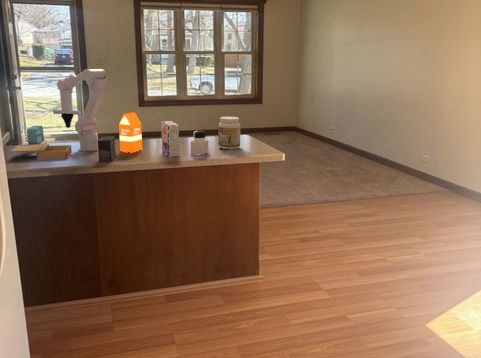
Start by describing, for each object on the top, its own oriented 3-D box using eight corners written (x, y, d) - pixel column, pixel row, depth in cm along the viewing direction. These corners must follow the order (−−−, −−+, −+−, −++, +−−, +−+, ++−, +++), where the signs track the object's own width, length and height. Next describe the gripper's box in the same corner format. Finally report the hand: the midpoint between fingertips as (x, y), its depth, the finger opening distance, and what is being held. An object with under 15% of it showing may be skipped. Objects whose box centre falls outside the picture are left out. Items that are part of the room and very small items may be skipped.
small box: (102, 156, 226) (101, 136, 223) (116, 156, 226) (114, 136, 223) (98, 161, 215) (96, 140, 213) (112, 161, 216) (110, 140, 213)
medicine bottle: (208, 152, 238) (208, 130, 235) (203, 155, 231) (202, 132, 228) (196, 151, 240) (195, 129, 237) (190, 154, 234) (190, 131, 230)
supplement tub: (214, 149, 247) (214, 118, 243) (223, 145, 258) (223, 115, 254) (235, 151, 243) (235, 119, 238) (243, 147, 254) (244, 117, 249)
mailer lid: (49, 145, 230) (48, 139, 229) (43, 151, 216) (42, 145, 216) (18, 146, 227) (17, 140, 226) (10, 152, 213) (9, 146, 213)
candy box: (161, 152, 238) (160, 121, 233) (172, 151, 240) (171, 120, 235) (168, 157, 226) (167, 125, 221) (179, 157, 228) (179, 124, 223)
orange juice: (142, 150, 242) (140, 112, 237) (132, 153, 235) (130, 114, 229) (130, 148, 245) (128, 111, 240) (120, 151, 238) (117, 113, 232)
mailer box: (71, 152, 233) (71, 145, 232) (67, 158, 220) (66, 150, 219) (42, 153, 230) (42, 145, 229) (36, 159, 217) (35, 151, 216)
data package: (38, 151, 234) (35, 128, 231) (28, 151, 234) (26, 128, 230) (44, 147, 246) (42, 125, 242) (36, 147, 245) (33, 125, 242)
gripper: (49, 102, 238) (51, 128, 242) (76, 103, 238) (78, 129, 242) (55, 101, 245) (57, 125, 249) (81, 102, 245) (83, 127, 248)
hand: (68, 127), depth 246 cm, fingers closed
